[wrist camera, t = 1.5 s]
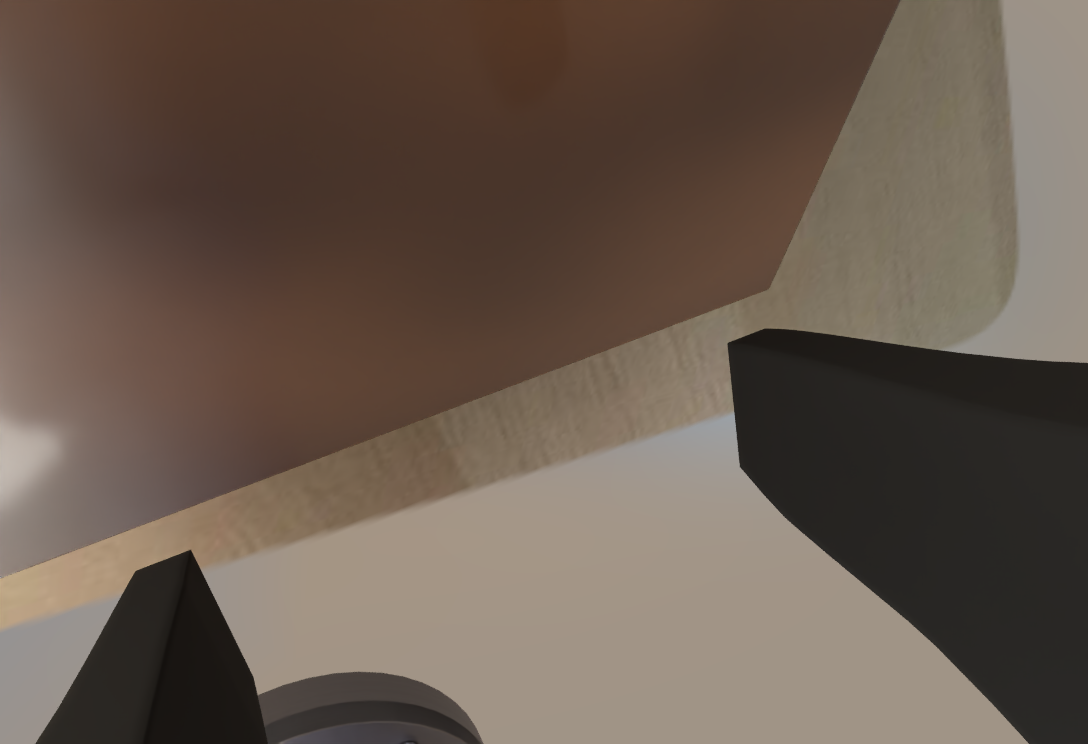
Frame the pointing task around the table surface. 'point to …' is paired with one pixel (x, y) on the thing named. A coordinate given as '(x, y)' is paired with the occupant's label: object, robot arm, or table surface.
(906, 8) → the table surface
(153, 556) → the table surface
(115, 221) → the lid
